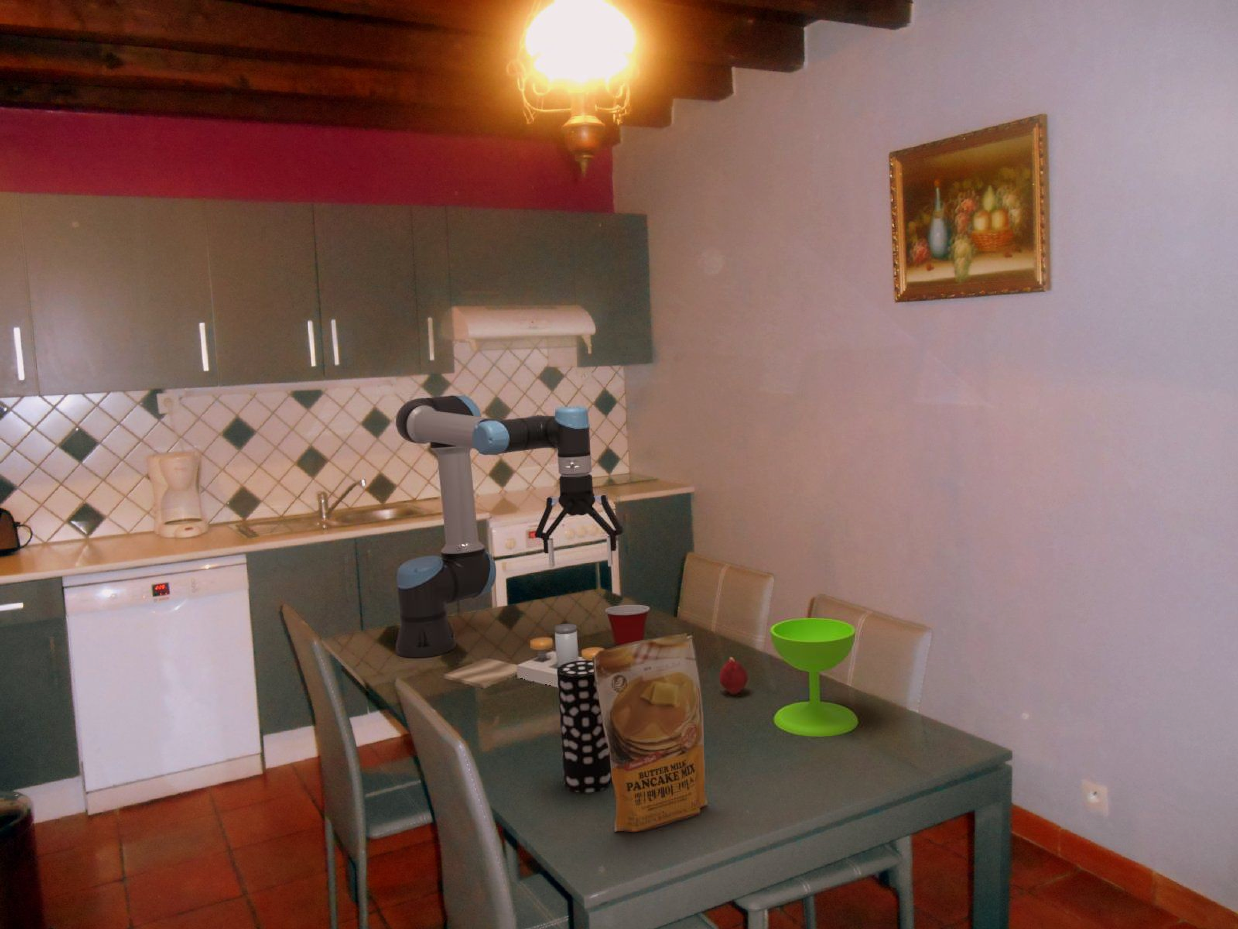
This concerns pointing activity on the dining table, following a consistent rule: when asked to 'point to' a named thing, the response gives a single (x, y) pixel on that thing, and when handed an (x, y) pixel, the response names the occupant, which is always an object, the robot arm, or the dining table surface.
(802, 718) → the wineglass
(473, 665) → the board
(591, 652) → the plunger right
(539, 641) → the plunger left
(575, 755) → the white-spotted black cylinder
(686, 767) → the pancake mix bag
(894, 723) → the dining table surface
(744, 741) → the dining table surface
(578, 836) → the dining table surface
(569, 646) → the cylinder
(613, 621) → the plastic cup
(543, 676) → the block
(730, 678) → the onion
